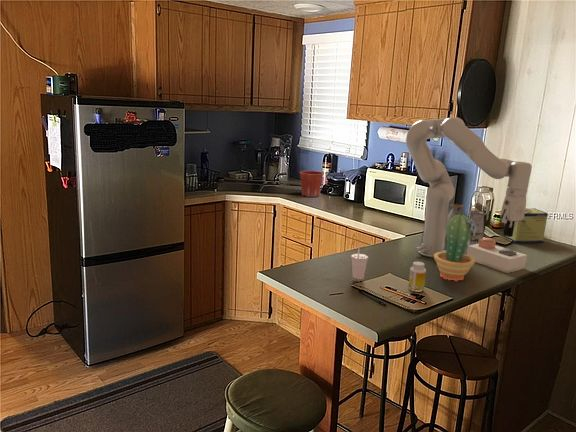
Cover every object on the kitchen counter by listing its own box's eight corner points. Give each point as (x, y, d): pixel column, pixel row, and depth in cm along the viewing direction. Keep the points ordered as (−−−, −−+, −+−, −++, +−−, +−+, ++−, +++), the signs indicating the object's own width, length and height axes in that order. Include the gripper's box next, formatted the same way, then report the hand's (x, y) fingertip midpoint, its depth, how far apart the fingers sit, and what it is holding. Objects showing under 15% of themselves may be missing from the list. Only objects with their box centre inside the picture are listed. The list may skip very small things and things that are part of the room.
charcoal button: (507, 266, 201) (509, 252, 199) (497, 262, 205) (499, 249, 203) (514, 264, 203) (516, 250, 202) (504, 261, 207) (506, 247, 206)
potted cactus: (456, 287, 180) (465, 221, 174) (423, 274, 193) (429, 212, 186) (480, 279, 189) (489, 216, 183) (447, 267, 201) (454, 208, 195)
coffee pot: (443, 224, 270) (446, 198, 267) (465, 226, 267) (468, 200, 264) (443, 234, 251) (447, 206, 247) (467, 237, 248) (471, 208, 244)
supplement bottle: (426, 290, 177) (429, 263, 174) (419, 294, 173) (422, 267, 170) (412, 285, 180) (415, 259, 178) (405, 289, 176) (407, 263, 174)
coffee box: (482, 248, 229) (487, 215, 225) (468, 247, 230) (472, 214, 227) (479, 243, 238) (483, 210, 234) (465, 241, 239) (469, 209, 235)
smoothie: (355, 276, 188) (357, 241, 184) (369, 280, 184) (372, 245, 181) (346, 280, 183) (348, 244, 180) (360, 285, 179) (363, 248, 176)
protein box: (543, 243, 241) (548, 212, 238) (514, 243, 239) (519, 213, 235) (530, 237, 251) (534, 208, 248) (502, 237, 249) (506, 208, 245)
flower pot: (309, 192, 348) (310, 169, 344) (327, 196, 337) (328, 173, 333) (293, 195, 336) (294, 171, 332) (311, 199, 325) (312, 175, 321)
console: (507, 273, 197) (509, 259, 196) (466, 258, 213) (468, 245, 212) (524, 268, 203) (527, 254, 202) (483, 254, 220) (485, 242, 218)
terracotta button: (487, 254, 208) (489, 241, 207) (477, 251, 212) (479, 238, 211) (494, 253, 211) (496, 239, 209) (484, 250, 215) (486, 236, 213)
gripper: (513, 195, 190) (504, 240, 194) (535, 193, 198) (526, 236, 202) (496, 191, 196) (488, 235, 201) (518, 189, 204) (510, 231, 208)
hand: (507, 235), depth 201 cm, fingers closed
